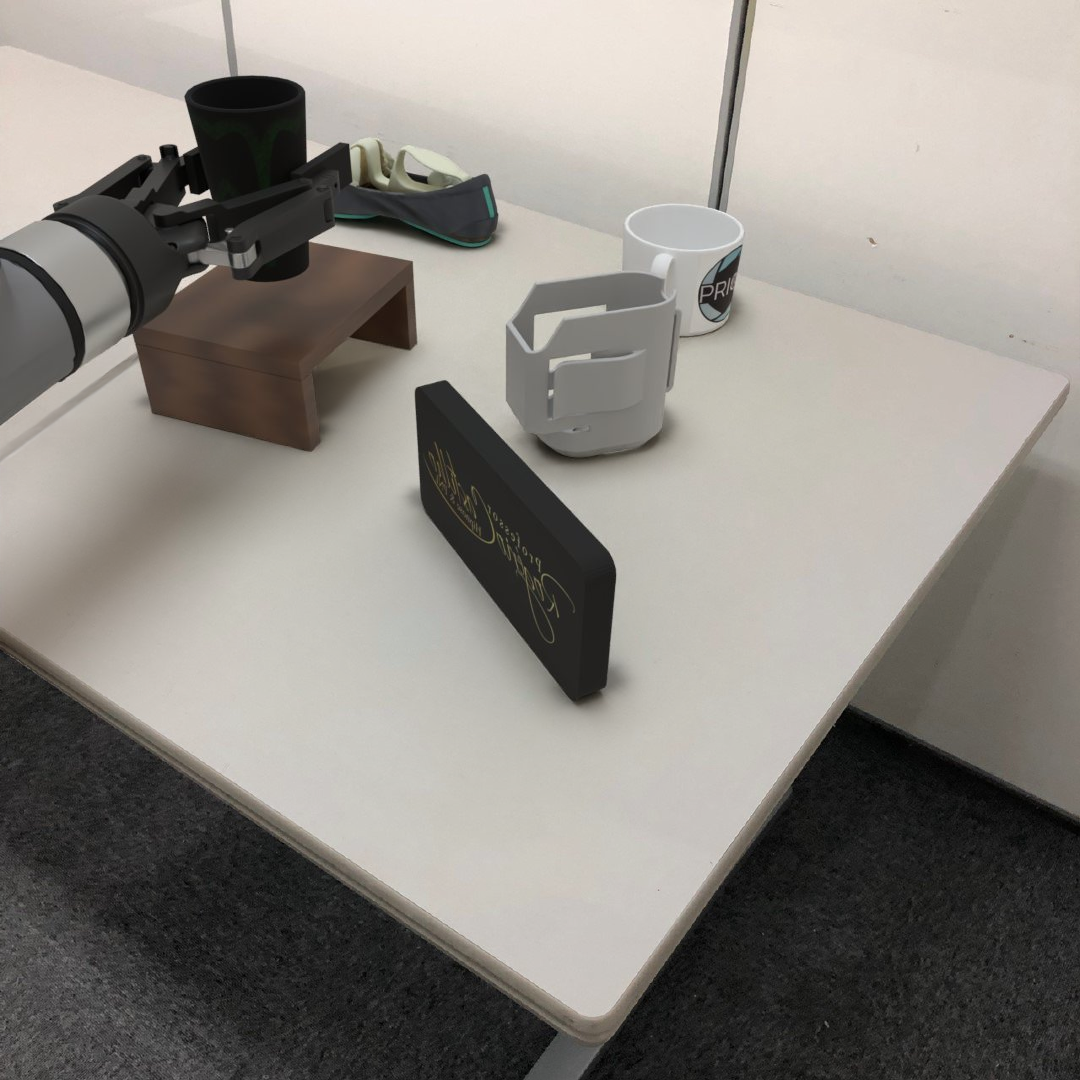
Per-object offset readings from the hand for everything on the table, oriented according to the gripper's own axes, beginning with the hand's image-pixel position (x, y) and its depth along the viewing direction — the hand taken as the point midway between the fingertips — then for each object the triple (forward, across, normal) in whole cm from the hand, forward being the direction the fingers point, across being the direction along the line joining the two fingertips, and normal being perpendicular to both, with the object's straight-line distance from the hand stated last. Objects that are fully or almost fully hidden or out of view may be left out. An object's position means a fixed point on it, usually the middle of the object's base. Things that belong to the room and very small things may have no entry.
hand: (294, 153), depth 76 cm
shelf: (-2, -2, -18) cm, 18 cm away
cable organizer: (-1, +23, -18) cm, 29 cm away
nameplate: (-19, +24, -18) cm, 36 cm away
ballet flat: (+30, -9, -18) cm, 36 cm away
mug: (+21, +24, -18) cm, 36 cm away
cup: (-5, 0, -7) cm, 8 cm away
